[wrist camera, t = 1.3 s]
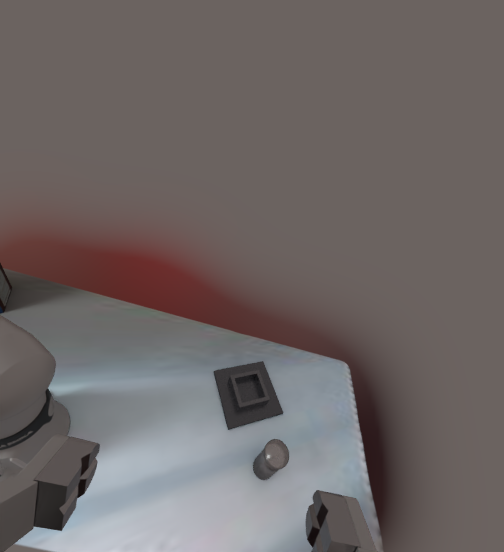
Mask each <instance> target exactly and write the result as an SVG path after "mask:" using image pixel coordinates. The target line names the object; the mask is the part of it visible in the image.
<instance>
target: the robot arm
mask: <svg viewBox="0 0 504 552" xmlns="http://www.w3.org/2000/svg"><path fill="white" fill-rule="evenodd" d="M55 368H56V361H55V358H54V357H53V356H52V355H51V353H50V352H49V351H48V350H47V349H46V348H45V347H44V346H43V345H42V344H41V343H40V342H39V341H38V340H37V339H36V338H35V337H34V336H33V335H32V334H30V333H29V332H27V331H25V330H24V329H22V328H21V327H19V326H17V325H16V324H14V323H12V322H11V321H9V320H8V319H6V318H4V317H3V316H1V315H0V552H4V551H5V550H7V549H8V548H9V547H10V546H12V545H13V544H14V543H15V542H17V541H18V540H19V539H21V538H22V537H23V536H24V535H26V534H27V533H28V532H30V531H31V530H32V529H33V527H41V528H47V529H53V530H59V531H62V529H63V528H64V526H65V525H66V523H67V521H68V520H69V518H70V516H71V515H72V513H73V512H74V510H75V508H76V503H77V498H79V497H80V496H82V495H83V494H84V493H85V492H86V490H87V488H88V487H89V485H90V483H91V481H92V479H93V476H94V474H95V471H96V468H97V460H96V458H95V457H96V456H97V454H98V453H99V448H100V444H98V443H94V442H90V441H86V440H82V439H78V438H74V437H69V436H67V433H68V430H69V426H70V417H69V413H68V411H67V409H66V408H65V407H64V406H63V405H62V404H60V403H59V402H57V401H55V400H54V399H53V396H52V395H51V393H50V391H49V389H48V387H49V385H50V383H51V381H52V379H53V377H54V373H55ZM313 502H314V503H313V504H312V505H310V506H309V508H308V511H307V513H306V535H307V540H308V541H309V543H310V545H311V546H312V548H313V549H312V551H311V552H378V551H376V548H375V545H374V543H373V540H372V537H371V535H370V532H369V529H368V526H367V524H366V521H365V518H364V516H363V513H362V510H361V508H360V505H359V502H358V501H357V499H356V498H352V497H347V496H342V495H339V494H334V493H329V492H324V491H319V490H317V491H316V492H315V493H314V495H313Z"/></svg>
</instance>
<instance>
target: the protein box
mask: <svg viewBox="0 0 504 552" xmlns="http://www.w3.org/2000/svg"><path fill="white" fill-rule="evenodd" d="M11 289H12V286H11V284H10V282H9V280H8V278H7V276H6V274H5V272H4V270H3V268H2V266H1V264H0V313H3V312H4V310H5V307H6V304H7V301H8V298H9V295H10V292H11Z"/></svg>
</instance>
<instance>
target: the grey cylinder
mask: <svg viewBox="0 0 504 552" xmlns="http://www.w3.org/2000/svg"><path fill="white" fill-rule="evenodd" d="M288 460H289V452H288V449H287V447H286V445H285V444H284V443H283V442H282V441H280V440H278V439H273V440H270V441H269V442H268V443H267V444H266V446H265V448H264V449H263V450H262V451H261V453H260V454H259V455H258V456H257V457H256V458H255V460H254V462H253V471H254V473H255V475H256V476H257V477H258V478H259V479H261V480H267V479H269V478H270V477H271V476H272V475H273V474H275V473H276V472H277V471H278V470H279V469H282V468H283V467H285V466H286V465H287V463H288Z"/></svg>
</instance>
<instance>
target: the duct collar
mask: <svg viewBox="0 0 504 552" xmlns="http://www.w3.org/2000/svg"><path fill="white" fill-rule="evenodd" d="M214 375H215V379H216V383H217V387H218V391H219V395H220V399H221V403H222V407H223V411H224V415H225V419H226V423H227V427H228V430H229V429H232V428H236V427H239V426H242V425H246V424H249V423H253V422H256V421H260V420H263V419H266V418H270V417H273V416H277V415H280V414H283V411H282V408H281V406H280V403H279V401H278V398H277V396H276V393H275V391H274V388H273V385H272V383H271V380H270V378H269V375H268V373H267V370H266V368H265V365H264V363H263V362H257V363H252V364H247V365H242V366H237V367H231V368H226V369H221V370H216V371H214Z"/></svg>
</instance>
